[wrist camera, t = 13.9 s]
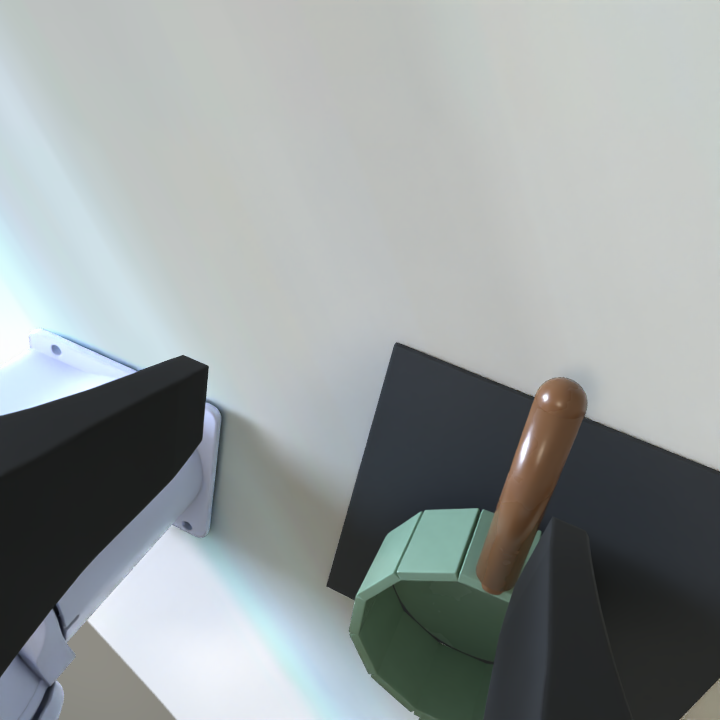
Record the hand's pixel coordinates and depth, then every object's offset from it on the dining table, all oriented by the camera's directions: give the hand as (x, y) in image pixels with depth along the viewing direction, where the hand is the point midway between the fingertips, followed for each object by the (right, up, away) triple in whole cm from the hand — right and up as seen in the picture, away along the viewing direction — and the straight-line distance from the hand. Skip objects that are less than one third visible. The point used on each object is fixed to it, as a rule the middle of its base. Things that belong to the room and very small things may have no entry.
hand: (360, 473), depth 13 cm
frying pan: (+5, -4, +11) cm, 13 cm away
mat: (+7, -5, +12) cm, 15 cm away
